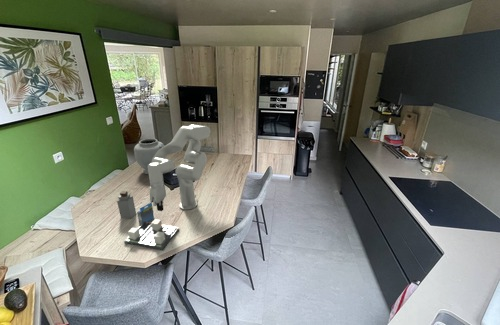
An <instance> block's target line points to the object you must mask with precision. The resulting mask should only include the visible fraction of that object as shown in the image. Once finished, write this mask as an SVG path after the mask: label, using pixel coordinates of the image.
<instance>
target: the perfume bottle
mask: <svg viewBox="0 0 500 325" xmlns="http://www.w3.org/2000/svg"><path fill="white" fill-rule="evenodd" d="M116 203H117V207H118V211H119V216H120V219H123V220H132V219H133V218H134V217H135V215H136V214H137V211H136V210H137V209H136V206H135V201H134V196H133V195H131V193H128V190H122V191H121V192H119V195H118V197H117V200H116Z"/></svg>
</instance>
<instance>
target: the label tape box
mask: <svg viewBox="0 0 500 325" xmlns="http://www.w3.org/2000/svg"><path fill="white" fill-rule="evenodd" d="M152 203H153V202H152ZM152 203H151V202H149V203H148V204H146V205H143V206H142V207H139V211H136V214H137V219H138V223H139V224H140V225H141V224H142V223H143V222H148V223H149V222H150V221H152V220H153V219H155V215H154V206H153V204H152Z"/></svg>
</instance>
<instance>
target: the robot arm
mask: <svg viewBox="0 0 500 325" xmlns="http://www.w3.org/2000/svg"><path fill="white" fill-rule="evenodd" d="M210 135H211V129H210V127H209V126H207V125H201V124H189V125H182V126H181V127H179V129H178V130H177V131H176V133H175V135H174V136H173V138H172V140H171V141H170V142H169V143H167V144H164V147H162V148H161V149H159V150H158V151H157V153H156V154H155V156H154V157H153V159H152V162H151V163H150V164H149V165H148V173H149V174H148V178H149V185H150V186H149V201H150V202H149V203H153V204H152V207H156V209H157V210H156V211H158V212H163V211H164V199H165V198H166V197H167V192H166V185H165V182H164V174H166V173H170V172H173V170H174V169H175V168H176V169H175V174H176V177H177V181H178V186H179V193H180V194H179V196H180V202H179V205H178V207H179V208H180V209H181V210H184V211H188V210H189V211H190V210H194V208H196V207H197V206H198V202H197V200H196V198H197V194H195V186H194V182H197V181H199V180H200V179H201V177H202V175H203V172H204V169H205V166H206V164H207V162H208V161H207V159H208V158H207V154H206V153H205V152H203V151H200V150H201V149H202V143H201V140H205V139H208V138H209V137H210ZM188 142H189V143H188ZM187 143H188V145H187ZM186 145H187V148H186V150H185V153H184V156H183V161H184V162H185V163H186V164H185V163H181V164H179V165H178V166H176V163H175V161H173V160H172V159H168V158H166V157H167V156H169V155H171V154H174V153H175V154H176V153H178V152H181V151H183V150H184V148H185V146H186Z"/></svg>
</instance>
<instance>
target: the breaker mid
mask: <svg viewBox="0 0 500 325" xmlns="http://www.w3.org/2000/svg"><path fill="white" fill-rule="evenodd" d="M150 223H151V224H152V230H155V231H158V230H159V229H160V228H161V227H162V225H163V224H162V220H161V219H156V218H154V220H152V222H150Z"/></svg>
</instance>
